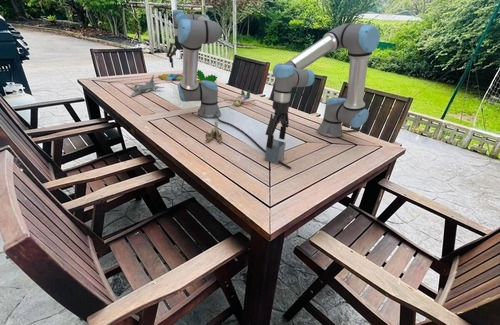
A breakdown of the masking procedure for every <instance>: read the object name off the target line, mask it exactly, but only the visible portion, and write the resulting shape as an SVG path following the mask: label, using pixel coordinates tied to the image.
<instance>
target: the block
mask: <svg viewBox="0 0 500 325" xmlns="http://www.w3.org/2000/svg"><path fill="white" fill-rule="evenodd" d="M286 143H287V142H285V141H282V140H278V139H275V138H273V146H272V149H271V148H268V147H267V143H266V144H265V151H266V153H264V154H265V156H264V160H265V161H267V162H270V163H273V164H275V165H278V164H280V163H279V161H281V162H282V161H283V160H284V158H285V152H286Z"/></svg>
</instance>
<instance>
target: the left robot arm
mask: <svg viewBox="0 0 500 325" xmlns="http://www.w3.org/2000/svg"><path fill="white" fill-rule="evenodd" d="M172 23H173V24H172V26H173V35H174V36H173V37H174V38H173V39H174V42H170V43H169V47H168V50H167V53H166V57H167V58H169V59H168V61H169V63H170V65H171V66H170V67H171V68H172V69H174V59H173V56H174V55H175V54H176V52H177V51H182V75H183V79H182V80H179V81H180V82H178V83H177V90H178V91H177V92H178V95H179V99H180V101H181V102H184V103H185V102H186V103H188V102H200V106H199V109H198V116H199V117H201V118H205V119H214V118H216V119H217V120H218V121H219V122H221V123H222V124H227V125H229V126H231V127H233V128H234V129H236V130H238V131H240V132H241V133H243V135H245V136H246V137H247V138H248V139H249V140H251V141H252V142H253V143H254V144H255V145H256V147H258V148H259V149H260V150H261V151H263V152H264V154H266V149H264V148H263V147H262V146H261V145H260V144H259V143H258V142H256V140H254V139H253V138H252V137H251V136H250V135H249V134H248V133H246V132H245V131H244V130H242V129H241V128H239V127H237V125H236V126H235V125H234V124H232V123H230V122H226V121H224V120H221V119H220V118H219V117H221V110H220V108H219V102H218V99H219V98H218V97H219V88H218V84H217V83H216V81H215V82H212V81H206V80H202V81H200V83H198V82H197V80H198V76H197V71H198V64H199V53H200V52H199V51H200V50H201V49H202V46H203V45H210V44H214V43H216V42H218V41H219V39H220V38H221V36H222V28H221V25H220V23H218V22H217V21H215V20H210V17H209V15H208V14H195V13H194V14H193V13H185V12H184V10H183V9H173V10H172ZM173 47H174V49H173ZM172 49H173V50H172ZM278 164H280V165H283V166H284V167H286V168H288V169H291V166H290V165H288V164H286V163H285V162H282V161H279V163H278Z"/></svg>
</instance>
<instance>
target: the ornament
mask: <svg viewBox="0 0 500 325" xmlns="http://www.w3.org/2000/svg"><path fill="white" fill-rule="evenodd" d="M217 79H218V76H216V74H214V75H213V74H208V75H205V73H204V71H202V70H199V69H197V82H198V83H200V81H202V80H206V81H212V82H215V83H216V82H217Z"/></svg>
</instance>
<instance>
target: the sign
mask: <svg viewBox="0 0 500 325" xmlns="http://www.w3.org/2000/svg"><path fill="white" fill-rule="evenodd" d="M158 78H159V80H162V81H163V80H165V81H172V82H173V81H178V82H179V81H181V80H182V79H183V74H180V73H163V74H161V75H158Z"/></svg>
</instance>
